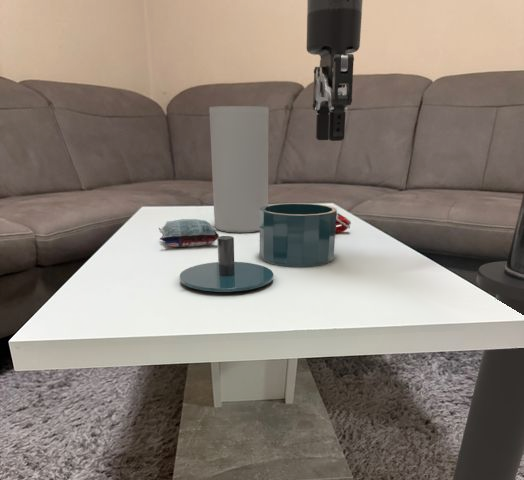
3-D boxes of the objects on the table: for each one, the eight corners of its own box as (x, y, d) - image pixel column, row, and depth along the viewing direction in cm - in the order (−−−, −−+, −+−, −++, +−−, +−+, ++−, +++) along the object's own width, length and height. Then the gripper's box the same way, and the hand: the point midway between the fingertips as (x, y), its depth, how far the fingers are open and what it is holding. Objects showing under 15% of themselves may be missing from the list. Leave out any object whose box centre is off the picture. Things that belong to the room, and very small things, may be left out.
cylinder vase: (267, 233, 101) (267, 106, 90) (211, 233, 101) (205, 106, 91) (268, 223, 112) (269, 108, 101) (218, 222, 113) (213, 108, 102)
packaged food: (159, 240, 94) (157, 216, 92) (216, 238, 97) (215, 214, 94) (160, 251, 87) (158, 225, 85) (222, 248, 89) (221, 222, 87)
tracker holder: (321, 235, 94) (286, 218, 99) (319, 254, 97) (285, 236, 102) (357, 215, 100) (322, 199, 105) (354, 233, 103) (320, 217, 108)
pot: (298, 245, 91) (300, 201, 87) (348, 258, 82) (352, 209, 78) (245, 255, 84) (245, 207, 80) (293, 271, 74) (295, 218, 71)
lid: (237, 263, 79) (236, 224, 76) (292, 283, 69) (293, 239, 66) (163, 278, 71) (159, 235, 68) (213, 303, 61) (210, 254, 58)
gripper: (377, -2, 57) (367, 140, 64) (347, 22, 70) (341, 139, 77) (318, -3, 56) (314, 141, 63) (298, 22, 69) (297, 140, 76)
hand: (329, 140), depth 70 cm, fingers open, 8 cm apart
